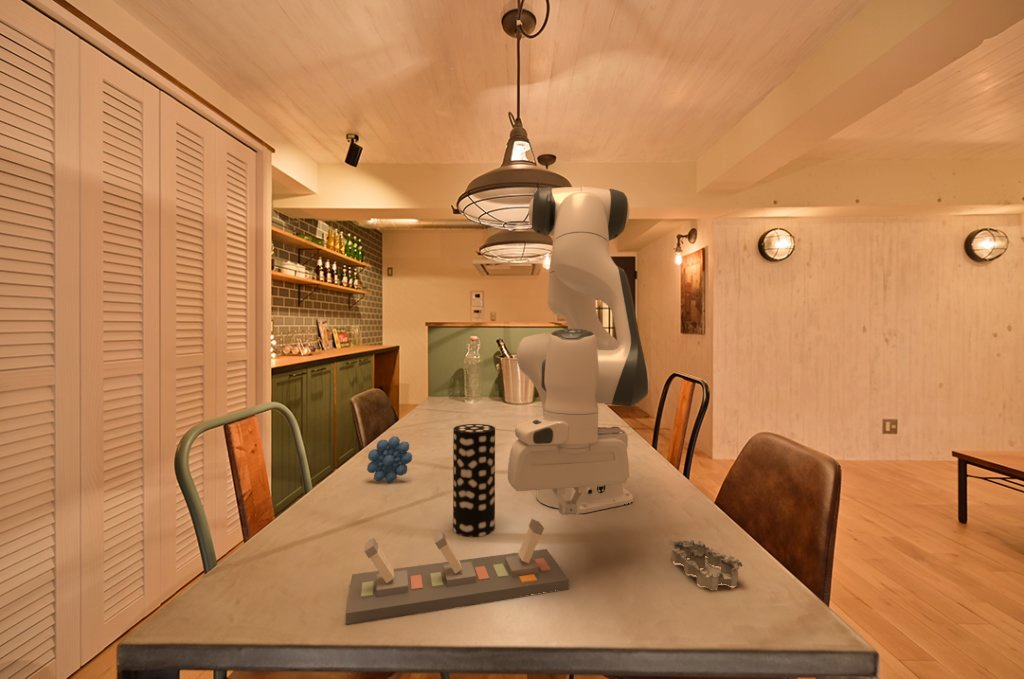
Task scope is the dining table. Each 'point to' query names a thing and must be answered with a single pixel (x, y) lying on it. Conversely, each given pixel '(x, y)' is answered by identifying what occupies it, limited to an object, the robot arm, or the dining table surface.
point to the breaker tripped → (530, 540)
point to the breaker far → (379, 560)
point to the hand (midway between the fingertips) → (568, 513)
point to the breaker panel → (451, 585)
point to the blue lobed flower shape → (389, 459)
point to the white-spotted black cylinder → (473, 479)
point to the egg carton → (697, 561)
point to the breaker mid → (447, 551)
